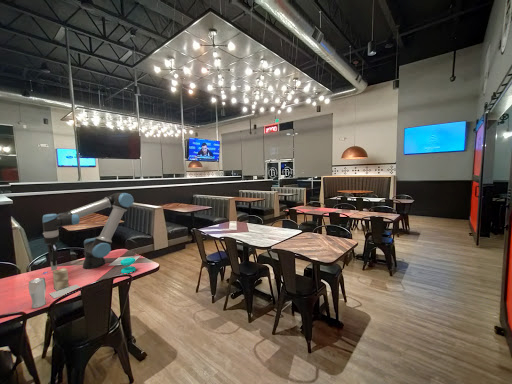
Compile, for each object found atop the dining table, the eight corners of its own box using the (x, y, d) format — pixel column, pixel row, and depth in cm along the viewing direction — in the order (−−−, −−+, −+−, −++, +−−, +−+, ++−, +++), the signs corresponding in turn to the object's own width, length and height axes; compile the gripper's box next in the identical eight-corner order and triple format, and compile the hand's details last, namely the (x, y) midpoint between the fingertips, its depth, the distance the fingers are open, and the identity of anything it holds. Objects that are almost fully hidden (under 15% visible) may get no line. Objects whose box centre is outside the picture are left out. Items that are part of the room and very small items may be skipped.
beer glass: (27, 307, 126) (25, 281, 125) (43, 300, 132) (41, 276, 131) (34, 310, 123) (32, 283, 122) (50, 303, 130) (48, 278, 129)
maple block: (65, 284, 152) (64, 267, 151) (68, 287, 149) (67, 269, 148) (54, 288, 147) (52, 271, 146) (57, 291, 144) (55, 273, 143)
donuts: (133, 261, 167) (118, 262, 164) (134, 273, 168) (119, 275, 165) (136, 256, 177) (122, 258, 174) (137, 268, 177) (122, 270, 174)
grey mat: (76, 284, 152) (76, 284, 152) (82, 288, 146) (82, 288, 146) (49, 294, 140) (49, 293, 140) (54, 298, 135) (54, 298, 135)
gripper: (41, 236, 153) (44, 269, 155) (47, 239, 146) (49, 274, 147) (55, 234, 159) (58, 265, 161) (61, 236, 152) (64, 270, 154)
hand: (54, 269), depth 154 cm, fingers closed
